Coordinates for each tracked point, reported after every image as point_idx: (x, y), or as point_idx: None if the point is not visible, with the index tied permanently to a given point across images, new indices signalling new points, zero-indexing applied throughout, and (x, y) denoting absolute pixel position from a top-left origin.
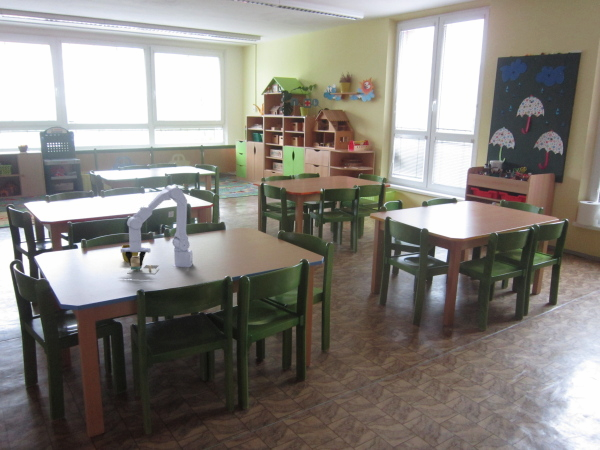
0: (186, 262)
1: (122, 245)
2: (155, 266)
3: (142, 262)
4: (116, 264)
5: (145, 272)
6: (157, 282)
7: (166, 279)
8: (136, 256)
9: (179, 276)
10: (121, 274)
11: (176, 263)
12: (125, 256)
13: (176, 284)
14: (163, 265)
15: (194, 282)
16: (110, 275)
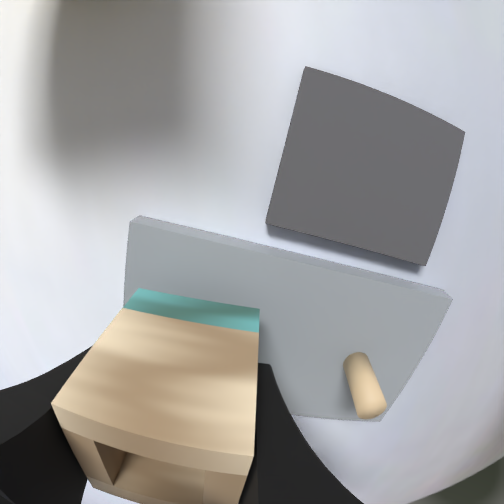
0: None
1: None
2: (431, 165)
3: (277, 395)
4: (3, 31)
5: (304, 401)
6: (359, 488)
7: (419, 457)
8: (144, 456)
9: (496, 410)
10: (82, 344)
11: None
12: None
13: (428, 488)
14: (492, 105)
15: (494, 458)
16: (26, 342)
